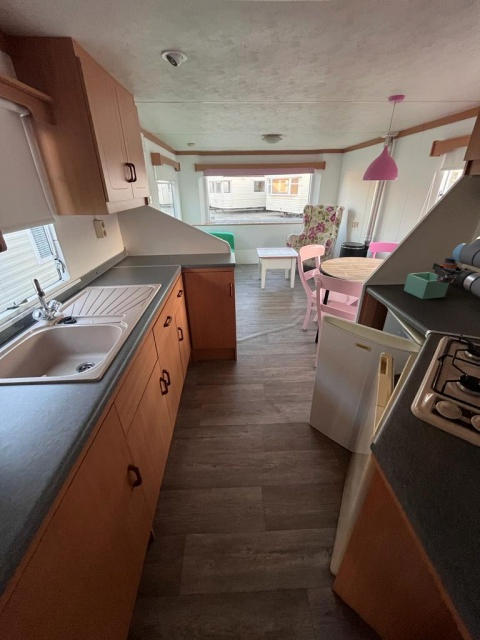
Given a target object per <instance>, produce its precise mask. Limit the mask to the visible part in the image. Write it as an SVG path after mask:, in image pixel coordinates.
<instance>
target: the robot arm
mask: <svg viewBox="0 0 480 640" xmlns="http://www.w3.org/2000/svg"><path fill="white" fill-rule="evenodd" d="M452 257H453V259H454V260H455V262H456V263H460V264H462V265H466V266H470V267H472V268H476V269H478V270H480V236H478V237H476V239H474V240H473V241H472V242H470V243H467V242H466V243H460V244H458V245H457V246H456V247H455V248H454V249H453V251H452ZM432 270H434V271H433V273H434V274H437V275H439V276H441V277H443V278H444V279H446V280H448V279H449V278H451V279H452V280H454V281H456V282H457V285H458V286H459V287H461V288H462V289H464V290H466V291H468V292H470V293H472V295H476V296H477V297H478V298H480V272H479V271H476V270H475V269H474V270H473V269H471V268H469V267H463V266H458V265H457V267H456V270H455V271H452V270H448V269H445V268H443V266H441V264H439V263H436V262H434V263H433V264H432Z"/></svg>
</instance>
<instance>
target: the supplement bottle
mask: <svg viewBox="0 0 480 640" xmlns="http://www.w3.org/2000/svg"><path fill="white" fill-rule="evenodd" d="M440 265H441V266H443V268H445V269H448V270H452V271H455V270H456V267H457V266H458V262H457V261H455V260H454V259H453V256H446V257H445V259H444V260H443V261H441V264H440ZM436 280H437V281H439V282H442V283H449V284H450V283H452V281H453V279H451V278H449V279H448V280H446V279H444V278H443V277H441V276H439V275H438V276H437V279H436Z"/></svg>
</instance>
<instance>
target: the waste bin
mask: <svg viewBox="0 0 480 640" xmlns="http://www.w3.org/2000/svg"><path fill="white" fill-rule="evenodd" d="M437 276H438V275H437V274H435V273H434V272H431V271H426V272H425V271H424V272H414V273H413V272H412V273H408V274H407V275H406V280H405V284H404V288H403V291H404V292H406V293H407V294H411V295H412V296H415V297H417V298H419V299H421V300H428V299H437V298H445V297H446V294H447V290H448V288H449V285H450V283H442V282H439V281H437V280H436V279H437Z"/></svg>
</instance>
